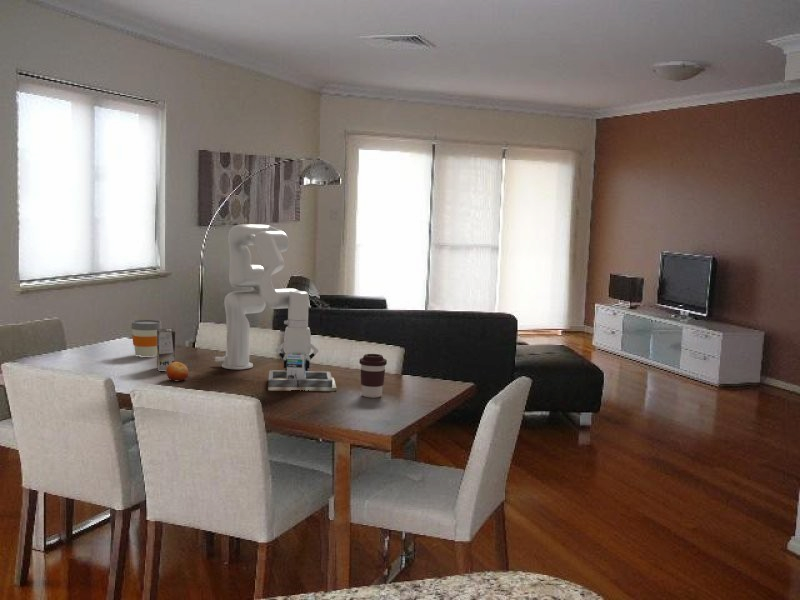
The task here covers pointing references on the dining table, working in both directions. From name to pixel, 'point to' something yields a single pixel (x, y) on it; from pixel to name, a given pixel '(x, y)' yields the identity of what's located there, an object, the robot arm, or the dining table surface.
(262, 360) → the dining table surface
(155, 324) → the reusable coffee cup
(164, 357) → the coffee box
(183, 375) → the fruit
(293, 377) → the light bulb box
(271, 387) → the gray shallow tray
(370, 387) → the coffee cup
